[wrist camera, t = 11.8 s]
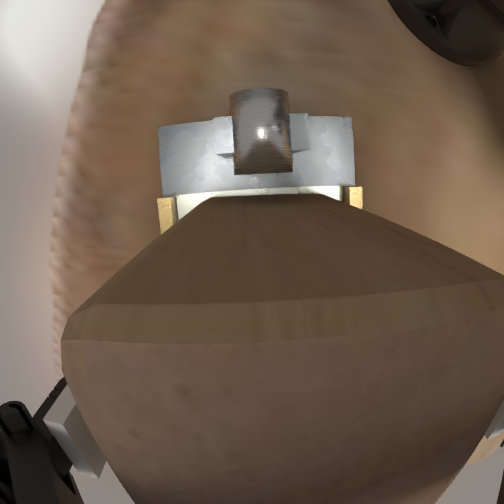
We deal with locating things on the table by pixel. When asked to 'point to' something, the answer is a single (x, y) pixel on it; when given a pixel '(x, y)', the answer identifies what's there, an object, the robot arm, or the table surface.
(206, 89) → the table surface
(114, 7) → the table surface
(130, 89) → the table surface
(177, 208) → the grey metal fixture stand
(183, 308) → the wooden block
